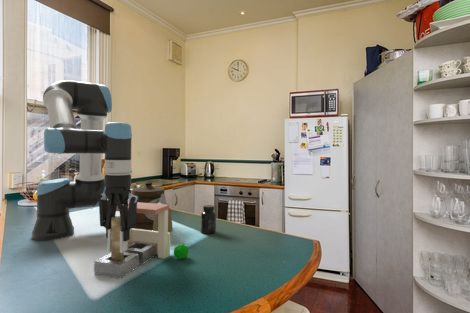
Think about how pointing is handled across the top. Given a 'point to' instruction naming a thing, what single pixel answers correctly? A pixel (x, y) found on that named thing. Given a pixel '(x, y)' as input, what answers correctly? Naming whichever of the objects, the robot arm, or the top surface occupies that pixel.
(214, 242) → the top surface
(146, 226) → the wooden container
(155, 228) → the squeeze bottle
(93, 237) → the top surface
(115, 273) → the socket
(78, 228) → the top surface
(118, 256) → the peg
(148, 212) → the pink-topped stool
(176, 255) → the polyhedron
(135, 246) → the inner socket
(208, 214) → the supplement bottle
